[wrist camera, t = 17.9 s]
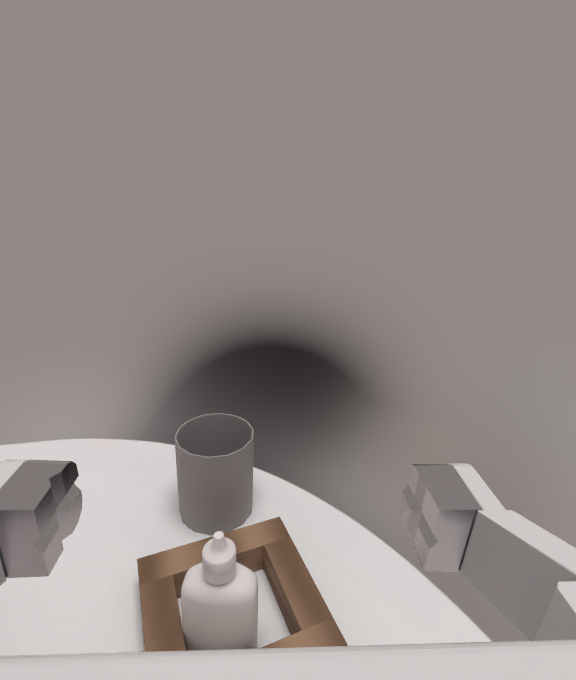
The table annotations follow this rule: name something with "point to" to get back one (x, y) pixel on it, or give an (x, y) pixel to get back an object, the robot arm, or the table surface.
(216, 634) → the eye dropper bottle
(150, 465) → the table surface
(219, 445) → the cup
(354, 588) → the table surface
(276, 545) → the socket block
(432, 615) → the table surface
